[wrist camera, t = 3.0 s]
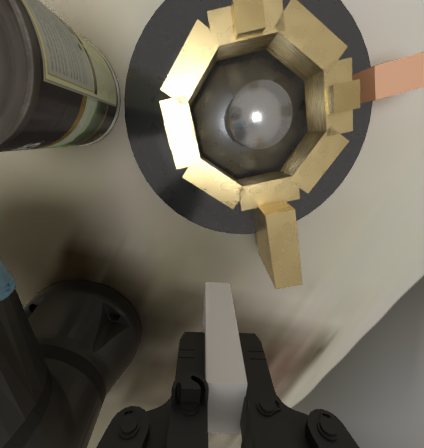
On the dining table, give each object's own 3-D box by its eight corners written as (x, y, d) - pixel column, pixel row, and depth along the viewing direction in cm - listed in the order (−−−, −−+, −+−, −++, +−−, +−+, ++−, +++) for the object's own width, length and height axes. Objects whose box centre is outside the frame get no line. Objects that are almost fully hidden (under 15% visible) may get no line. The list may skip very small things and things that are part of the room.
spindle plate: (126, 214, 29) (104, 237, 22) (135, -52, 21) (105, -137, 15) (322, 238, 31) (354, 266, 24) (396, 3, 23) (473, -50, 17)
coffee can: (114, 158, 27) (28, 179, 14) (13, 131, 26) (-190, 125, 12) (129, 50, 24) (35, -59, 10) (14, 13, 22) (-259, -165, 9)
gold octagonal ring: (151, 46, 22) (128, 6, 15) (324, 5, 21) (379, -55, 14) (205, 265, 29) (206, 303, 22) (334, 239, 28) (374, 269, 22)
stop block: (331, 109, 26) (375, 100, 19) (329, 84, 25) (374, 65, 19) (389, 93, 26) (453, 78, 19) (388, 67, 25) (456, 42, 18)
